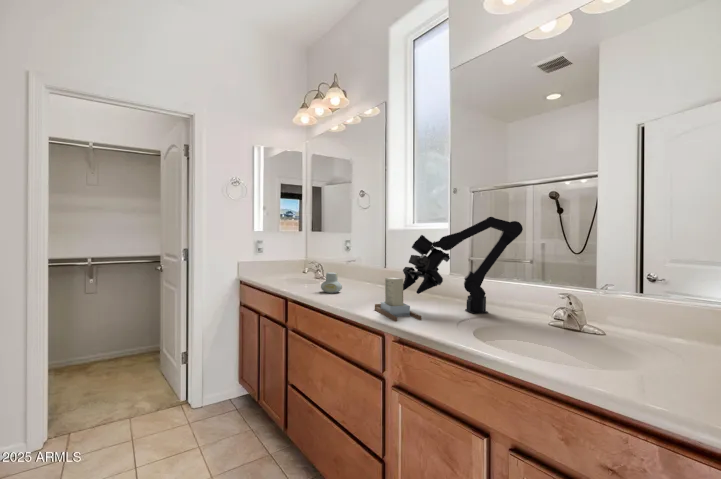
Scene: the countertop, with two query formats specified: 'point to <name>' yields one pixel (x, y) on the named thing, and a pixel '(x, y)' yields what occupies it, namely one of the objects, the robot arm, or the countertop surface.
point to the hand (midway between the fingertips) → (409, 291)
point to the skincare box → (394, 291)
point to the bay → (378, 308)
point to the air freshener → (331, 283)
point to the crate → (396, 309)
